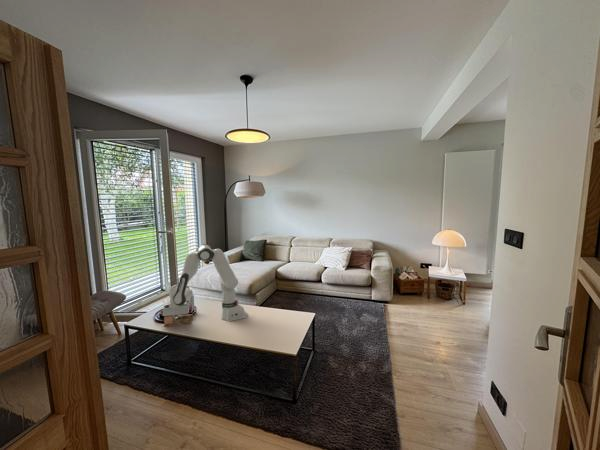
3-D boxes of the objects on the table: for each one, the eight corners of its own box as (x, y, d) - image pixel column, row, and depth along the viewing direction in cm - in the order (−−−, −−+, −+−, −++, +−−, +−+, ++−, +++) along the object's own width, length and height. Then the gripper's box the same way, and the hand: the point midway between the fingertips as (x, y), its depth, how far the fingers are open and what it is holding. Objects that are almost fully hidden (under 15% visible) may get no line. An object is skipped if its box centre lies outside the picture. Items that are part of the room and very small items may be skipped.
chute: (193, 318, 219) (192, 314, 219) (191, 323, 209) (190, 319, 209) (166, 321, 214) (166, 316, 214) (163, 326, 204) (163, 322, 204)
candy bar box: (180, 313, 229) (179, 296, 228) (183, 311, 234) (182, 294, 233) (191, 313, 228) (191, 296, 227) (194, 311, 233) (194, 294, 232)
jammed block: (174, 320, 213) (173, 313, 213) (172, 323, 208) (172, 316, 208) (166, 321, 212) (166, 314, 211) (164, 324, 207) (164, 317, 206)
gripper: (189, 301, 216) (190, 316, 217) (163, 303, 211) (164, 319, 212) (188, 304, 209) (188, 319, 211) (161, 306, 205) (162, 322, 206)
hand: (176, 319), depth 211 cm, fingers closed
